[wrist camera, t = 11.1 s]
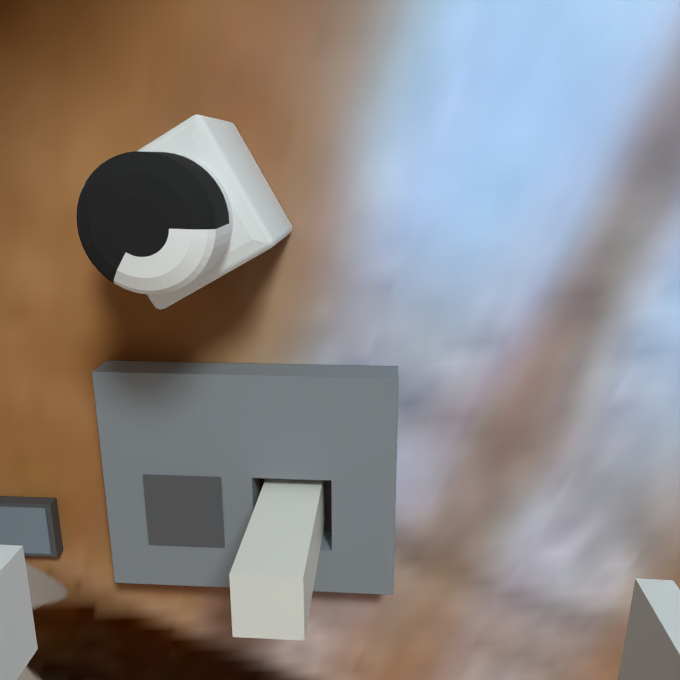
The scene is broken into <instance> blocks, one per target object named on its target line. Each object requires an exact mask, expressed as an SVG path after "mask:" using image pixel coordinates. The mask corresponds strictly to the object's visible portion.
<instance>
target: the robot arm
mask: <svg viewBox="0 0 680 680" xmlns="http://www.w3.org/2000/svg"><path fill="white" fill-rule="evenodd" d="M37 649H38V648H37V641H36V634H35V627H34V620H33V613H32V606H31V599H30V592H29V585H28V578H27V571H26V564H25V557H24V550H23V546H18V545H0V680H17V678H18V677H19V675H20V674H21V672H22V671H23V670H24V668H25V667H26V665H27V664H28V662H29V661H30V659H31V658H32V656H33V655H34V654H35V652H36V651H37ZM618 680H680V590H679V588H678V587H677V585H676V584H675V582H674V581H671V580H653V579H635V584H634V590H633V596H632V602H631V607H630V613H629V619H628V625H627V630H626V636H625V642H624V648H623V653H622V659H621V665H620V671H619V676H618Z"/></svg>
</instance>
